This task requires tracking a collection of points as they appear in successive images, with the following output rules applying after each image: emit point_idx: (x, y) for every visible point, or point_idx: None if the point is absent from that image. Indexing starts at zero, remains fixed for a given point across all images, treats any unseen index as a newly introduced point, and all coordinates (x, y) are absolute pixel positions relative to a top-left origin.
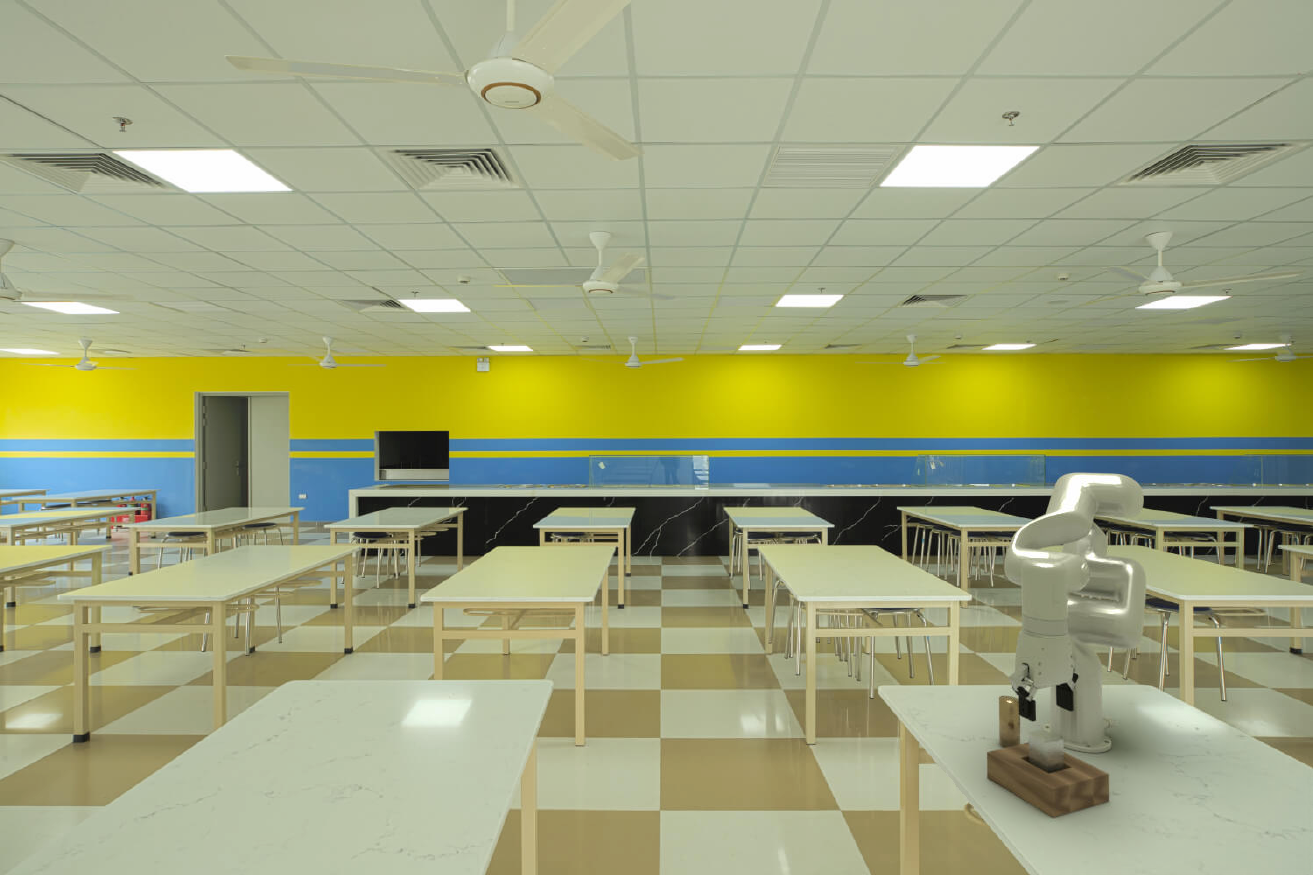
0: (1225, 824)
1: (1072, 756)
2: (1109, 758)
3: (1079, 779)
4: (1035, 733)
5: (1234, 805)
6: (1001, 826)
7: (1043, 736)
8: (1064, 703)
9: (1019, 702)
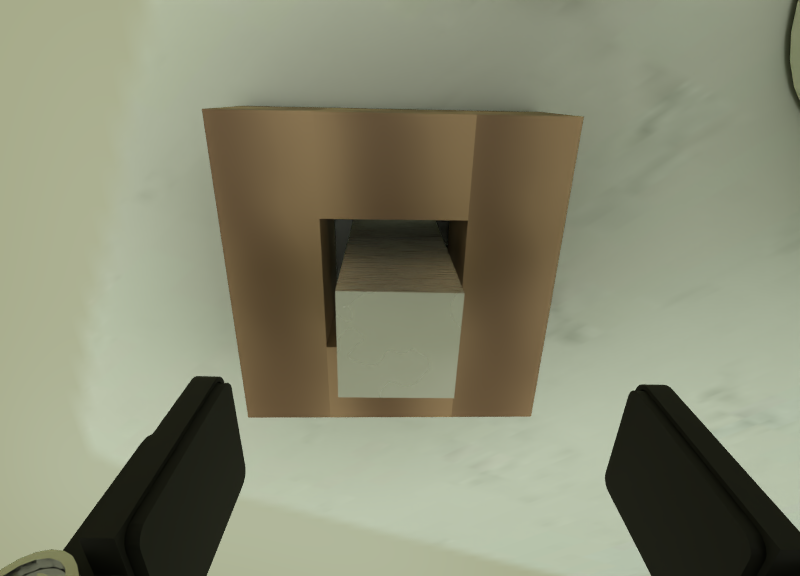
0: None
1: (549, 291)
2: None
3: (397, 406)
4: (376, 303)
5: (770, 463)
6: (92, 334)
7: (384, 344)
8: (634, 482)
9: (94, 507)
